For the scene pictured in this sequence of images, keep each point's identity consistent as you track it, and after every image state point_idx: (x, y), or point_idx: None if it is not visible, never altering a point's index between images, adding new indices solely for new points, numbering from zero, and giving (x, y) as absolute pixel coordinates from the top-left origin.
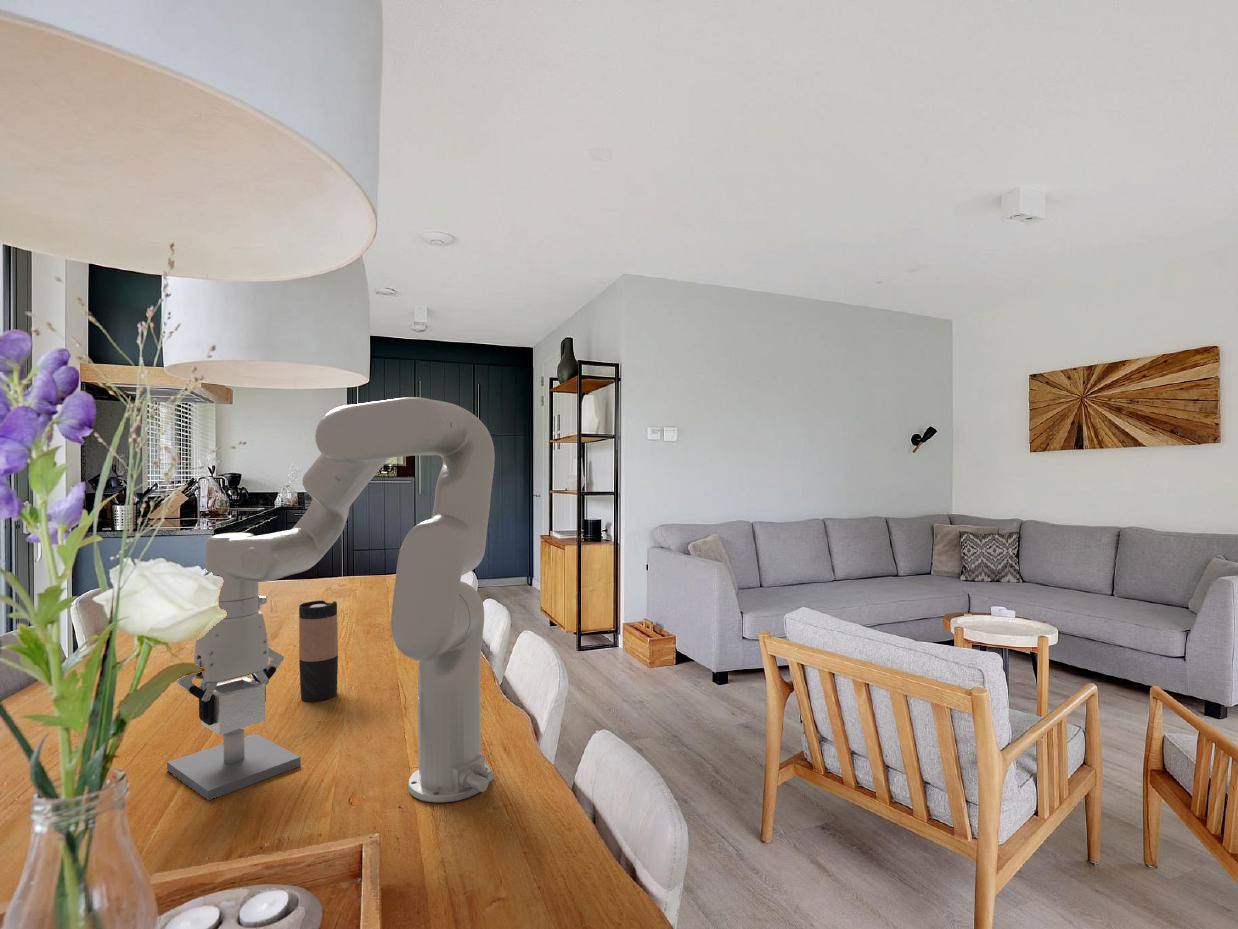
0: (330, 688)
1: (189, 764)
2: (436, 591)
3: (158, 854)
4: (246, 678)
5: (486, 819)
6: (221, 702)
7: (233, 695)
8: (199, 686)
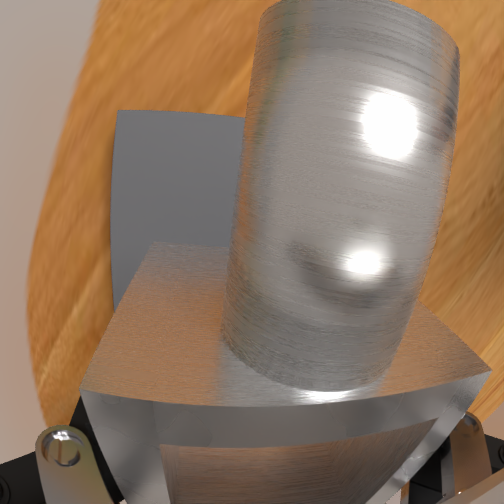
0: None
1: (146, 191)
2: None
3: (48, 417)
4: (458, 413)
5: None
6: None
7: None
8: (46, 500)
